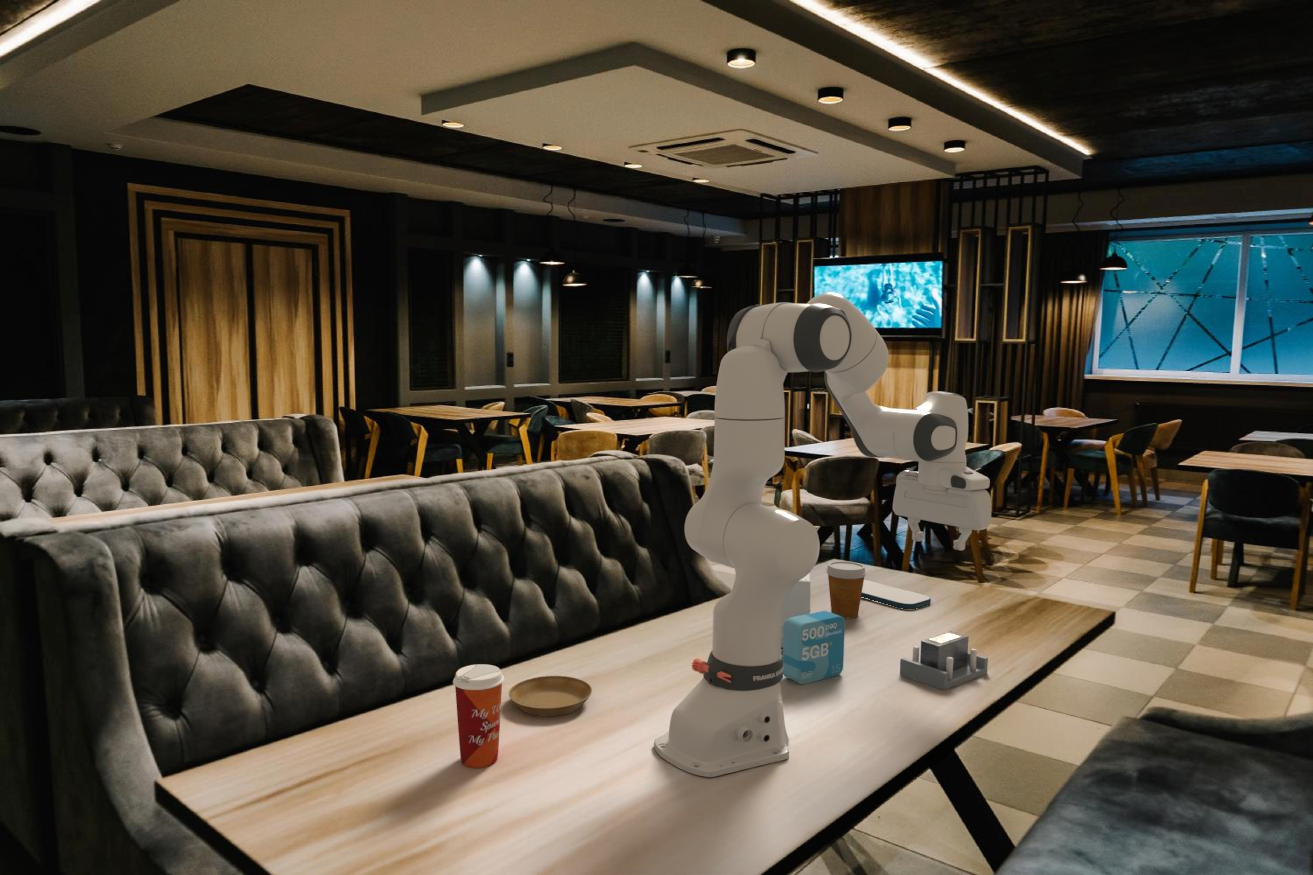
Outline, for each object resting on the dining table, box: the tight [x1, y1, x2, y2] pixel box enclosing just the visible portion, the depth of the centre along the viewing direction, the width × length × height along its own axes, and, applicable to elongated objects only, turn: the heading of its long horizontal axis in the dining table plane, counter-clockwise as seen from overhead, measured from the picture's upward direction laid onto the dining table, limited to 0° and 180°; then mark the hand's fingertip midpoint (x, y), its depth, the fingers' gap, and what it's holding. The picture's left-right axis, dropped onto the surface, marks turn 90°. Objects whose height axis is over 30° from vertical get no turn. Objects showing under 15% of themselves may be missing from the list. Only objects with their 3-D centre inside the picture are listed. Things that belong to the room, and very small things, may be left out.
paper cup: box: [452, 663, 505, 769], centre depth 135 cm, size 8×8×14 cm
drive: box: [919, 631, 969, 672], centre depth 174 cm, size 10×4×6 cm, turn 128°
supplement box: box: [781, 572, 812, 649], centre depth 191 cm, size 9×9×15 cm
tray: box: [899, 645, 989, 691], centre depth 174 cm, size 15×10×5 cm
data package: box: [782, 610, 846, 685], centre depth 171 cm, size 12×4×12 cm, turn 122°
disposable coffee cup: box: [825, 560, 867, 619], centre depth 212 cm, size 10×10×12 cm
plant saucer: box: [508, 675, 593, 717], centre depth 157 cm, size 15×15×3 cm
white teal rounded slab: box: [861, 579, 932, 610], centre depth 228 cm, size 24×12×2 cm, turn 39°
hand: (937, 544), depth 172 cm, fingers open, 8 cm apart
